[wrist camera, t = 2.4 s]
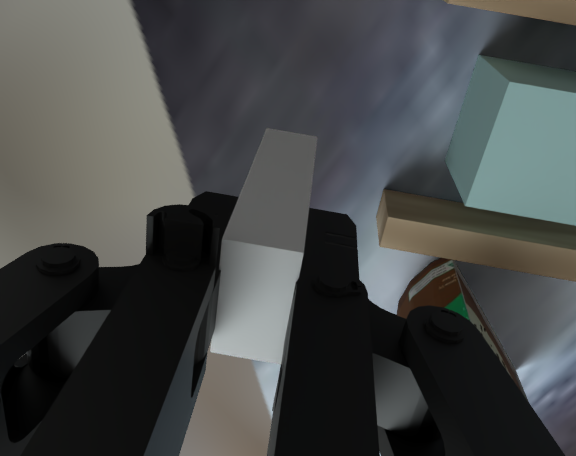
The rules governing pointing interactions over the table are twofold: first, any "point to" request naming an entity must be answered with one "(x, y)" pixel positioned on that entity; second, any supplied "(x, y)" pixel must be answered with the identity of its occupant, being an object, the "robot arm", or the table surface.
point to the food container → (452, 303)
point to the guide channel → (478, 222)
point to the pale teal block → (517, 141)
